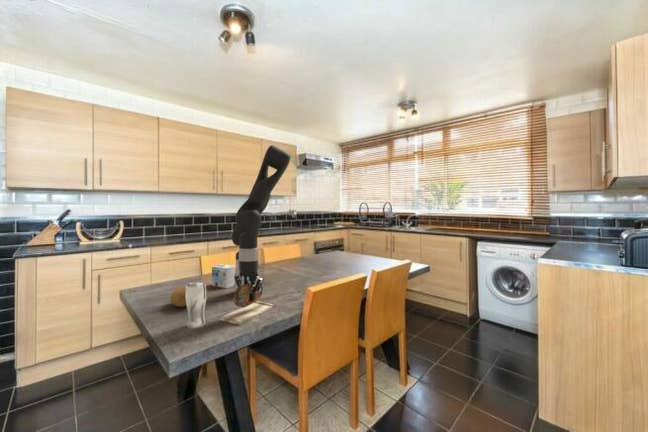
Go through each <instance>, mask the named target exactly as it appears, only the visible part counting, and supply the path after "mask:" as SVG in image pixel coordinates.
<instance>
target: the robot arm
mask: <svg viewBox="0 0 648 432" xmlns="http://www.w3.org/2000/svg"><path fill="white" fill-rule="evenodd" d="M264 153H265V154H264V156H263V160H262V161H261V162H262V163H261V166H260V169H259V171H258V173H257V177H256V180H255V182H254V184H253V185H252V186H253V187H252V188H251V191H250V193H249V196H248V198H247V200H246V201H244V202H243V204H242V205H241V206H240V207H239V208H238V210H237V211H236V214H235V219H234V220H235V223H236V224H235V227H234V228H233V229H232V233H231V241H232V243H233V245H235V246H239V249H238V251H237V252H236V253H235V274H234V287H233V288H234V290H233V291H234V293H235V291H236V289H237V288H238V287H239V286H241V285H244V284H248V287H249V289H250V302H253V301H254V300H255V292H257V291H259V290H260V288H261V285H262V286H263V283H264V280H265V279H264V278H263V277H260V276H259V272H258V271H259V250H258V236H259V233H260V228H261V225H262V213H263V212H264V211H265V210H266V208H267V206H268V204H269V201H270V199H271V194H272V192H273V190H274V188H275V187H276V186H277V184H278V182H279V181H280V179H281V178H282V176H283V175H284V173H286V171H287V168H288V166H289V165H290V162H291V158H292V154H290V152H288V151H286V150H284V149H281V148H279V147H278V146H276V145H272V144H271V145H270V146H269V147H267V149H266V152H264ZM269 167H270V168H272V169H274V170H276V171H275V172H274V173H273V174H271V175H270V176H269V175H268V174H269ZM256 282H257V283H256ZM251 284H252V285H251ZM234 293H233V294H234Z"/></svg>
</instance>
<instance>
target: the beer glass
mask: <svg viewBox="0 0 648 432" xmlns="http://www.w3.org/2000/svg"><path fill="white" fill-rule="evenodd" d="M206 284H207V283H206V282H203V281H197V282H196V281H195V282H189V283H187V284H186V285H185V286H186V306H185V307H186V311H187V314H188V315H187V316H188V318H187V324H186V326H187V328H188V329H199V328H202V327H203V326H205V325H206V324H207V323H206V318H205V310H206V305H207V295H208V294H207V285H206Z"/></svg>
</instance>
